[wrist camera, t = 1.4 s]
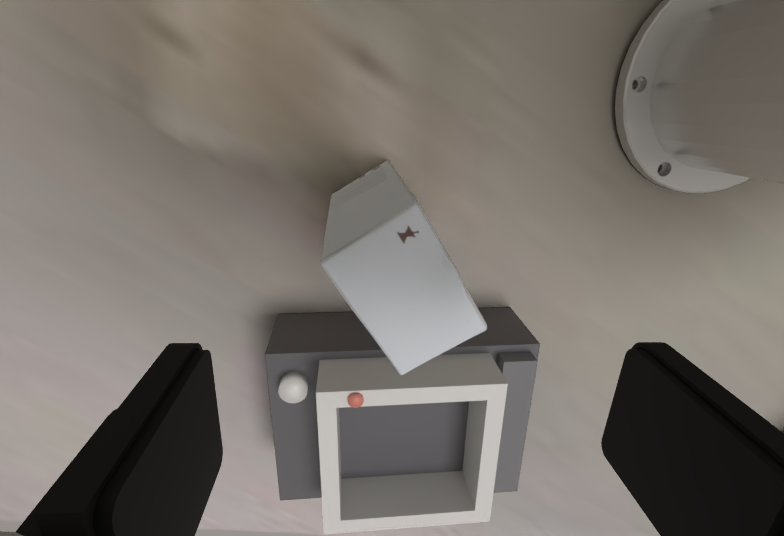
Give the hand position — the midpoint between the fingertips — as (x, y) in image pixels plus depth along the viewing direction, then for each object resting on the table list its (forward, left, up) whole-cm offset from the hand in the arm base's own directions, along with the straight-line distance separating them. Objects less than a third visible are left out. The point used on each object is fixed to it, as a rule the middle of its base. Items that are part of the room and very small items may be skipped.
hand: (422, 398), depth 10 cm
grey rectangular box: (-2, +12, -18) cm, 22 cm away
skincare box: (-1, 0, -19) cm, 19 cm away
